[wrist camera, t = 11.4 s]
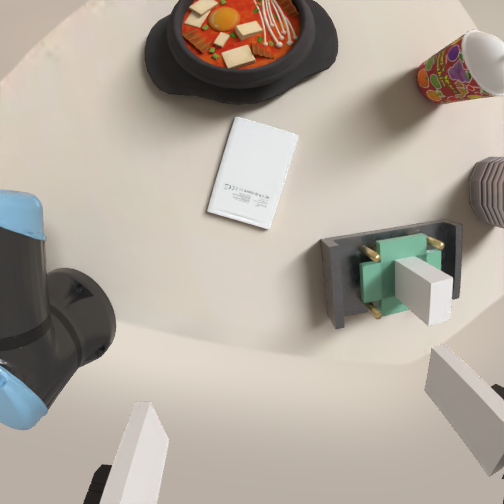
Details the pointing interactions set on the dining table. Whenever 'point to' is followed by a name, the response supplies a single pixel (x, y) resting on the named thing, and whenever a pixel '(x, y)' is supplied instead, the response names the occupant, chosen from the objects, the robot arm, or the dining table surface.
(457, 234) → the chassis
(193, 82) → the casserole
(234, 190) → the external hard drive
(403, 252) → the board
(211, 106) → the dining table surface
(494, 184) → the can
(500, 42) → the smoothie
